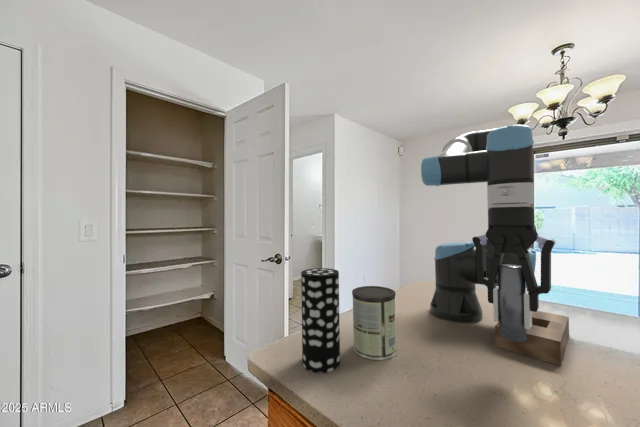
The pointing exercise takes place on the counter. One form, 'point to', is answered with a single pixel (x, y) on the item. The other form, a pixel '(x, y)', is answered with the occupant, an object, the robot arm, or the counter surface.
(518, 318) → the peg
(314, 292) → the spotted tube
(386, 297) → the coffee can
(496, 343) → the socket block
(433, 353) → the counter surface
